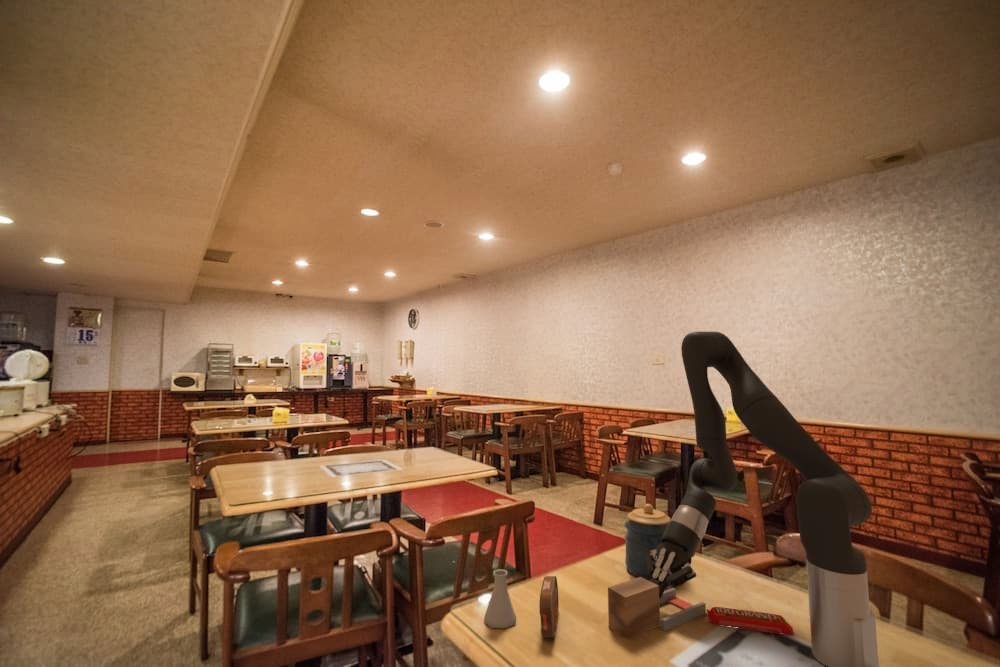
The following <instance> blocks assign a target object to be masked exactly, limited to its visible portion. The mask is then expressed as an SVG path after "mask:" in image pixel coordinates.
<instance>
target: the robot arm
mask: <svg viewBox="0 0 1000 667" xmlns="http://www.w3.org/2000/svg"><path fill="white" fill-rule="evenodd" d="M681 357H682V364H683V368H684V371H685V376H686V380H687V385H688V389H689V392H690V396H691V401H692V407H693V416H694V427H695V441H696V445H697V448H699V449H701V450H703V451H705V452H706V453H708V454H709V455H710V456H711V458H705V457H701V458H698V459H696V460H695V461H694V462H693V463H692V465H691V467H690V470H689V476H688V481H687V487H686V491H685V494H684V496H683V498H682V501H681V502H680V504H679V506H678V508H677V509H676V510H675V512H674V513H673V515H672V517H670V519H671V520H670V522H669V524H668V526H667V528H666V530H665V532H664V534H663V536H662V542H661V543H660V544H659V545H658V546H657V548H656V549H655V550H652V551H650V550H649V549H646V550H645V555H646V562H647V569H648V572H649V573H650V574H651V576H652V580H650V582H652V583H654V584H657V585H659V599H660V598H661V597H662V595H663V593H664V591H666V589H667V588H668V587H672V588H674V589H676V588H677V587H680V586H682V585H683V584H685V583H687V582H689V581H691V580H692V579H695V578H696V577H697V572H696V571H695V570H694V569H693V567H692V565H691V564H692V558H694V557H695V555H696V553H697V550H698V549H699V546H700V545H701V542H702V539H703V538H704V536H705V534H706V531H707V528H708V526H709V525H708V524H709V523H710V520H711V518H712V517H713V515H714V514H713V513H714V512H715V510H716V507H717V500H716V498H715V497H714V496H713V495H712V494H711V493H710V492H708V491H706V489H712V490H713V489H714V490H718V491H721V492H729V491H730V492H731V491H732V490H733V489H734V488H735V487H736V485H737V482H738V473H737V467H736V465H735V462H734V460H733V457H732V453H731V451H730V448H729V445H728V442H727V439H728V438H727V429H726V428H727V426H726V425H727V424H726V419H725V418H726V417H725V414H724V411H723V409H722V406H721V405H720V403H719V401H718V399H717V397H716V396H715V394H714V392H713V390H712V388H711V385H710V381H709V377H708V368H713V369H715V370H716V371H717V372H718V373H719V374H720V375H721V377H723V379H724V380H725V381H726V383H727V384H728V386H729V389H730V396H731V404H732V408H733V411H734V412H735V414H736V416H737V417H738V419H739V420H740V422H741V423H742V424H743V425H744V427H745V428H746V430H748V432H749V433H750V435H752V437H754V438H755V440H757V441H758V442H759V443H760V444H762V446H764V447H766V448H767V449H769V450H770V451H772V452H773V453H775V454H776V455H777V456H779V457H781V458H782V459H783V460H785V461H786V462H788V463H789V464H791V466H792V467H793V468H794V469H796V471H797V472H798V473H799V474H800V475H801V476H802V478H803V479H804V481H803V482H802V483H801V484H800V485H799V487H798V488H797V492H796V514H797V521H798V522H797V523H798V529H799V530H798V532H799V533H798V534H799V538H800V542H801V545H802V546H803V548H804V552H805V558H806V572H807V573H806V574H807V590H808V591H807V593H808V608H809V611H808V612H809V624H810V626H809V627H810V642H811V653H813V654H812V656H813V657H814V659H816V660H817V661H818V662H819V663H820V664H822V665H824V666H825V665H826V666H825V667H827V666H828V667H880V664H879V662H880V661H879V648H878V636H877V624H876V614H875V613H874V612H873V611H872V612H871V609H870V595H869V582H868V567H867V558H866V555H865V554H864V553H863V552H862V551H861V550H860V549H858V548H855V547H854V546H853V542H852V536H851V527H854V526H859V525H862V524H864V523H866V522H868V520H869V519H870V518H871V516H872V513H873V512H872V511H873V508H872V503H871V499H870V497H869V495H868V493H867V491H866V490H865V489H864V488H863V487H862V485H861V484H860V483H859V482H858V481H857V480H856V479H855V478H854V476H852V475H851V474H849V473H848V472H847V471H846V470H845V468H843V467H842V466H841V465H840V464H839V463H838V462H837V461H835V460H834V459H833V458H832V457H831V456H830V455H829V454H828V453H827V452H826V451H825V450H824V449H823V448H822V447H821V446H820V445H819V444H818V443H817V442H816V440H815V439H813V437H812V436H811V435H810V434H809V432H808V431H807V430H806V429H805V428H804V426H802V425H801V424H800V422H798V420H797V419H796V418H795V417H794V415H792V413H791V412H790V411H789V410H788V408H787V407H786V406H785V405H784V404H783V403H782V401H781V400H780V399H779V398H778V397H777V396H776V395H775V393H773V392H772V391H771V390H770V389H769V387H767V385H766V384H765V383H764V382H763V381H762V380H761V379H760V377H759V376H758V375H757V373H756V372H755V371H754V370H753V369H752V368H751V367H750V365H749V364H748V363H747V362H746V359H745V358H744V357H743V356H742V355H741V353H740V351H739V350H738V348H737V347H736V346H735V344H734V343H733V341H731V338H729V337H728V336H726V334H724V333H722V332H719V331H692V332H688V333H687V334H686V335H684V337H683V339H682V342H681ZM656 561H657V562H656Z"/></svg>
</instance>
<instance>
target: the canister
mask: <svg viewBox="0 0 1000 667" xmlns="http://www.w3.org/2000/svg"><path fill="white" fill-rule="evenodd" d="M626 516H627V520H626V521H625V522H624V527H625V528H626V531H625V532H626V533H625V535H624V538H625V560H624V561H625V563H624V564H625V567H626V570H627V571H628V573H630V574H631V575H634V576H635V577H636V578H638V577H642V578H644V579H646V580H648V581H652V576H651V574H650V573H649V572H648V569H647V562H646V555H645V550H646V549H649V550H650V551H652V550H655V549H656V548H657V546H658V545H659V544H660V543H661V542H662V536H663V534H664V532H665V530H666V528H667V526H668V524H669V522H670V520H671V517H670V516H668V515H667V514H665V513H664V512H663V511H662V510H659V509H655V508H654V506H653V505H652V504H651V503H645V504H644V506H643V508H641V507H640V508H635V509H633V510H632V511H630V512H628V513H627V514H626ZM656 562H657V561H656Z"/></svg>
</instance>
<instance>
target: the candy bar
mask: <svg viewBox="0 0 1000 667" xmlns="http://www.w3.org/2000/svg"><path fill="white" fill-rule="evenodd" d="M706 613H707V614H706V615H707V620H708V622H712V624H714V625H715V626H719V625H723V626H722V627H725V626H731V627H730V628H732V627H738V628H737V629H739V628H742V629H741V630H746V631H753V630H754V631H756V632H762V633H768V632H769V633H770V634H775V633H783V634H787V635H789V633H791V634H794V629H793V626H792V625H791V624H790V623H788V621H787V620H785V618H784V617H783V615H779V614H774V613H768V612H761V611H753V610H746V609H745V610H744V609H739V608H738V609H737V608H731V607H730V608H729V607H724V606H723V607H721V606H720V607H719V606H712V607H711V608H710V609H708V608H706ZM754 631H753V632H754ZM783 634H782V635H783Z"/></svg>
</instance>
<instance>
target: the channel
mask: <svg viewBox="0 0 1000 667" xmlns="http://www.w3.org/2000/svg"><path fill="white" fill-rule="evenodd" d="M675 597H677V589H676V588H673V587H672V588H670V589H667V590H666V589H665V591H664V593H663V595H662V597H661V598H660V599H659V606H660V605H662V604H665V603H667V602H668V600H670V599H673V598H675ZM706 604H707V603H706V602H704V601H701V602H699V603H697V604H693V605H694V606H691V607H689V608H686V609H684V610H683V609H681V610H679V611H677V612H675V613H673V614H670V615H668V616H666V617H663V618H662V619H661V618H660V626H661V630H662V631H664V632H666V631H668V630H670V629H673V628H675V627H677V626H680V625H682V624H684V623H686V622H689V621H690V620H693V619H695V618H697V617H699V616H702V615H704V614H706V613H707V608H706Z"/></svg>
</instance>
